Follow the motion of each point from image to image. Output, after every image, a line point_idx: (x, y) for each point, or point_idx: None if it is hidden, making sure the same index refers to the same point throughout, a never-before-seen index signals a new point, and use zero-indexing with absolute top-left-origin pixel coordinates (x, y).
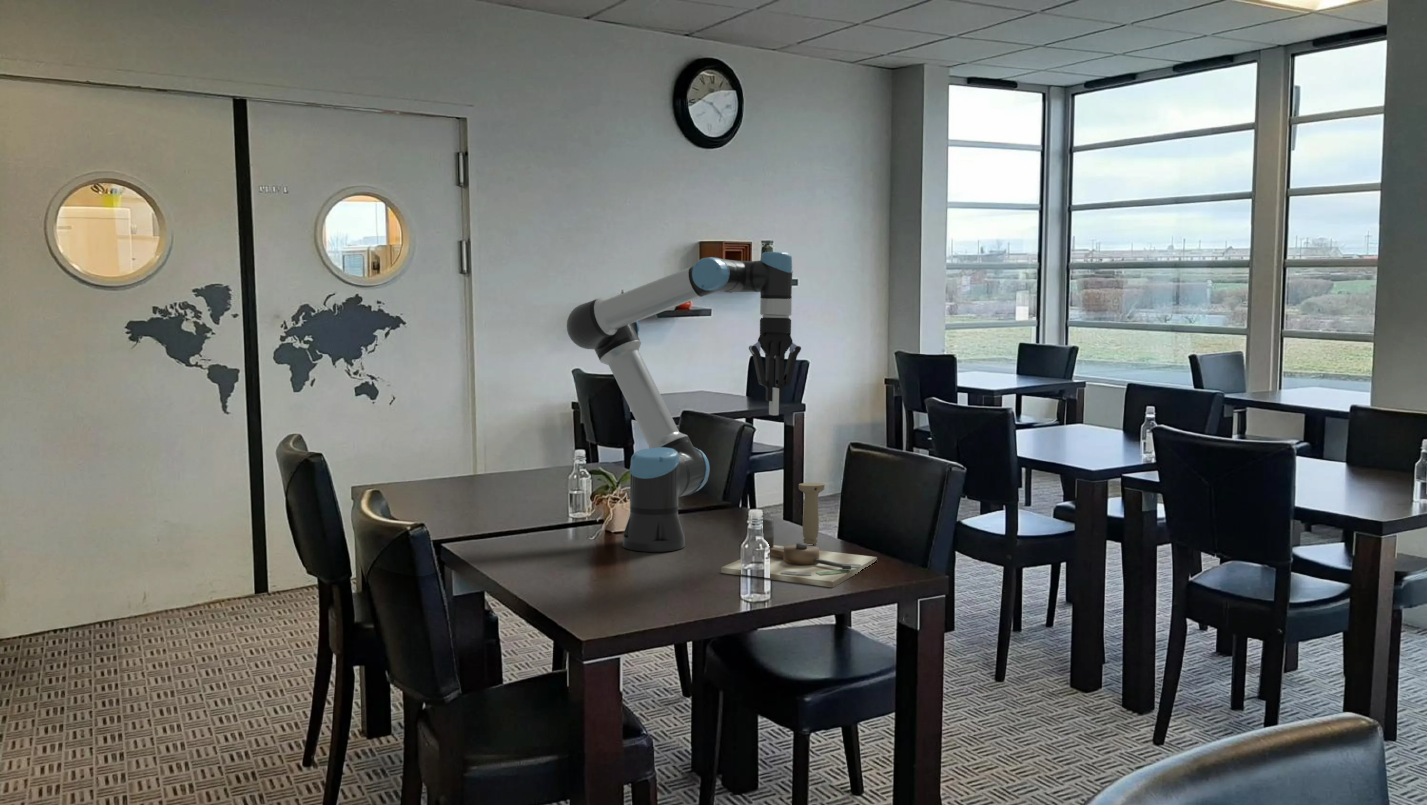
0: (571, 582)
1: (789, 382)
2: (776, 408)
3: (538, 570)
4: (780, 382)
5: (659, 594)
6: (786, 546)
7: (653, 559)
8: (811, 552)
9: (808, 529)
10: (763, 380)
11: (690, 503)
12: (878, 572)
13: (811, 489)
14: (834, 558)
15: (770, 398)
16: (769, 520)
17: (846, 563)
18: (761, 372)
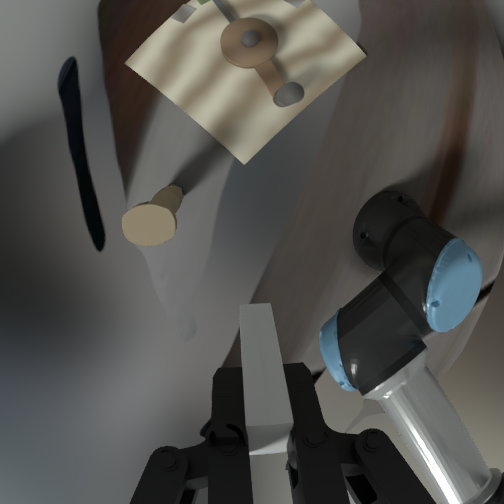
0: (484, 99)
1: (156, 462)
2: (254, 326)
3: (493, 155)
4: (235, 466)
5: (434, 19)
6: (267, 57)
7: (412, 156)
8: (243, 18)
9: (175, 189)
10: (382, 455)
11: None
12: (154, 12)
13: (155, 202)
14: (188, 58)
15: (293, 374)
16: (293, 83)
17: (185, 29)
18: (414, 497)
